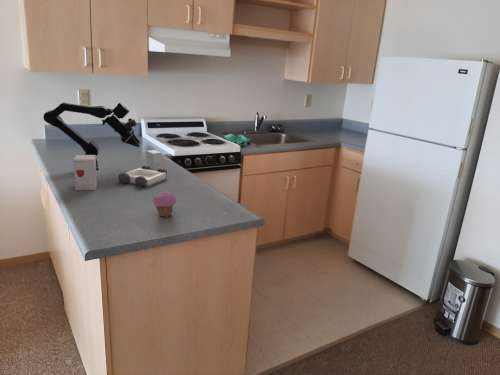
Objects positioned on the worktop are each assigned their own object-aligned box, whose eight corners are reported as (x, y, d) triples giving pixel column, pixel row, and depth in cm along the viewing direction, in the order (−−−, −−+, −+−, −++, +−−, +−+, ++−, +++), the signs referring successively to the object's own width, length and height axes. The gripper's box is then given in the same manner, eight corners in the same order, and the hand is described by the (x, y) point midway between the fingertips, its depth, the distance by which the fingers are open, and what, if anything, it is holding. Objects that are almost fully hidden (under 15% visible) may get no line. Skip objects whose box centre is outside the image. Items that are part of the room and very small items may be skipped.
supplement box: (75, 190, 185) (72, 159, 181) (77, 184, 193) (75, 154, 189) (96, 190, 188) (94, 159, 183) (97, 184, 196) (95, 154, 191)
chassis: (145, 188, 195) (145, 178, 193) (117, 182, 201) (116, 172, 199) (168, 178, 212) (168, 169, 211) (142, 173, 218) (142, 164, 217)
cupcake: (177, 212, 167) (177, 189, 164) (174, 220, 159) (174, 196, 156) (155, 211, 167) (155, 188, 164) (151, 219, 159) (151, 195, 156)
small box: (162, 170, 225) (162, 152, 222) (153, 172, 222) (152, 153, 218) (156, 167, 231) (155, 149, 228) (146, 168, 228) (146, 150, 224)
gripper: (126, 116, 206) (149, 137, 212) (127, 111, 223) (149, 131, 229) (111, 132, 206) (134, 152, 212) (114, 126, 224) (135, 145, 230)
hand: (139, 144), depth 221 cm, fingers open, 9 cm apart
